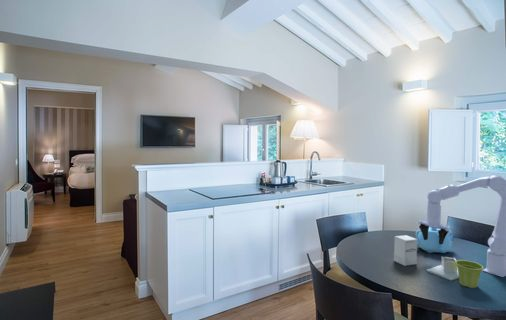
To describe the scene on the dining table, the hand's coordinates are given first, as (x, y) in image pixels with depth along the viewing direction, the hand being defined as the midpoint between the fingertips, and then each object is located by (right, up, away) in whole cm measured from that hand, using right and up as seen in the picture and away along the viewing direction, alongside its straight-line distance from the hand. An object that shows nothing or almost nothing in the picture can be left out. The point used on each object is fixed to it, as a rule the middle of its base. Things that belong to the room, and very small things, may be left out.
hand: (433, 241), depth 152 cm
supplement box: (-14, -10, 0) cm, 18 cm away
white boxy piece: (0, -10, -12) cm, 15 cm away
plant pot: (0, -12, -24) cm, 27 cm away
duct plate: (+1, -11, -11) cm, 16 cm away
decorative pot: (+10, -9, +16) cm, 21 cm away
